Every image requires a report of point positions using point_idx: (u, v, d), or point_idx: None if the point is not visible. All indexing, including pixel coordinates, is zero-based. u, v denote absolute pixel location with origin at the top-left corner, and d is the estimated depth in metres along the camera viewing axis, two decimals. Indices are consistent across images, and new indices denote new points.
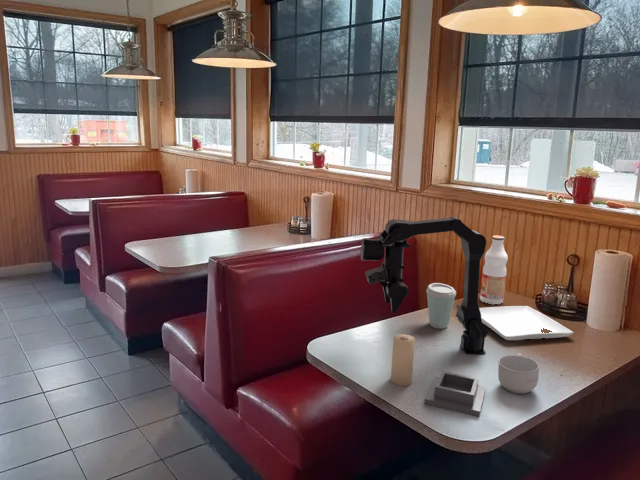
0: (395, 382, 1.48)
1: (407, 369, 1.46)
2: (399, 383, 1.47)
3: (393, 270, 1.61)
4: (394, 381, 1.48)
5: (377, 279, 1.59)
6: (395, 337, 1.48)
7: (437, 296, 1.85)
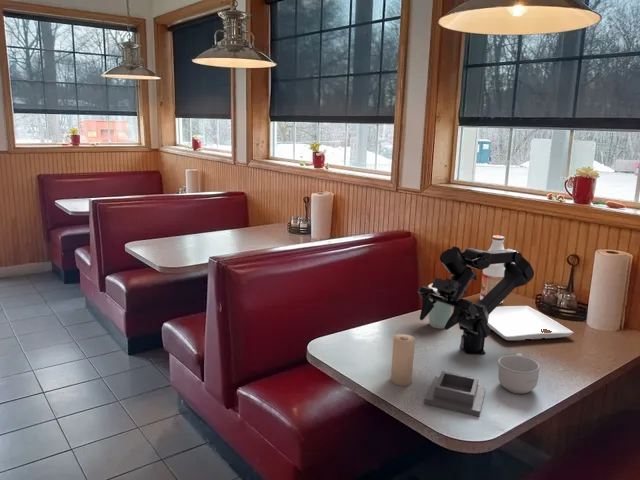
0: (395, 382, 1.48)
1: (407, 369, 1.46)
2: (399, 383, 1.47)
3: (461, 290, 1.58)
4: (394, 381, 1.48)
5: (455, 289, 1.53)
6: (395, 337, 1.48)
7: None
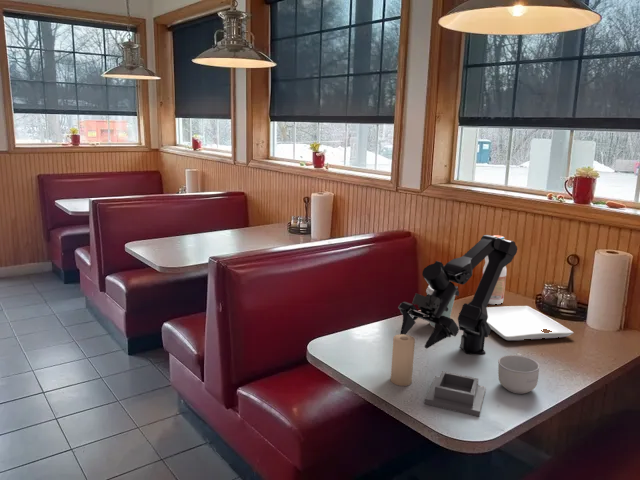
0: (395, 382, 1.48)
1: (407, 369, 1.46)
2: (399, 383, 1.47)
3: (443, 307, 1.52)
4: (394, 381, 1.48)
5: (436, 305, 1.47)
6: (395, 337, 1.48)
7: None
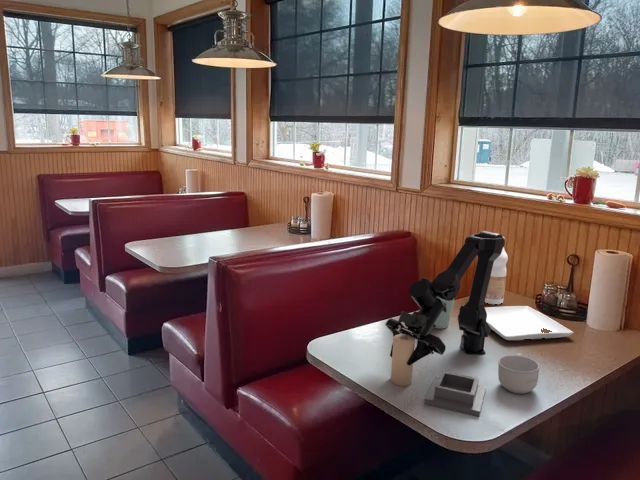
0: (395, 382, 1.48)
1: (407, 369, 1.46)
2: (399, 383, 1.47)
3: (429, 324, 1.49)
4: (394, 381, 1.48)
5: (422, 324, 1.44)
6: (395, 337, 1.48)
7: None
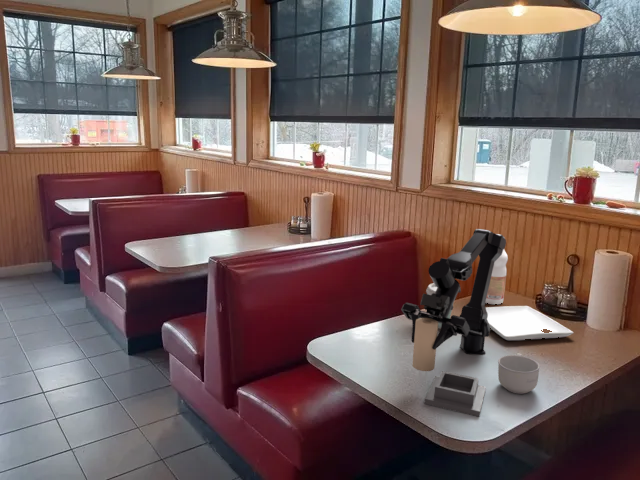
0: (419, 368, 1.42)
1: (431, 353, 1.41)
2: (424, 369, 1.41)
3: (449, 306, 1.45)
4: (418, 367, 1.42)
5: (446, 305, 1.39)
6: (417, 321, 1.42)
7: None
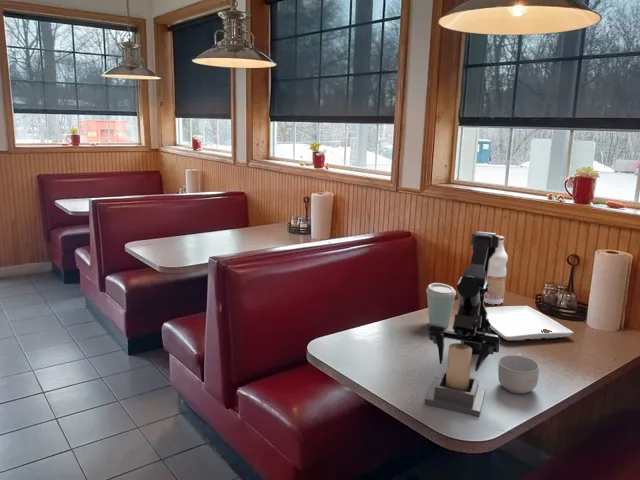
0: None
1: (467, 379, 1.38)
2: None
3: None
4: None
5: (480, 324, 1.37)
6: (452, 348, 1.38)
7: (437, 296, 1.85)
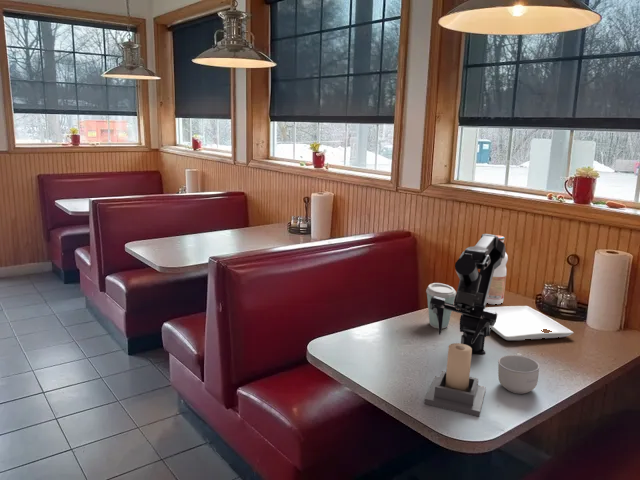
0: None
1: (467, 379, 1.38)
2: None
3: None
4: None
5: None
6: (451, 348, 1.38)
7: (437, 296, 1.85)
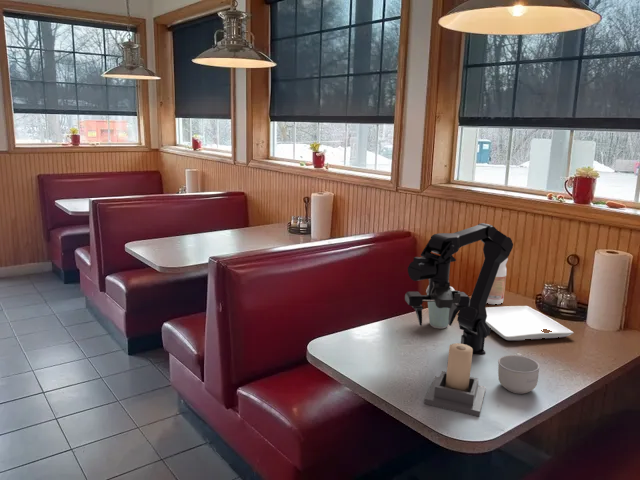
0: None
1: (468, 379, 1.38)
2: None
3: None
4: None
5: None
6: (452, 348, 1.38)
7: None
